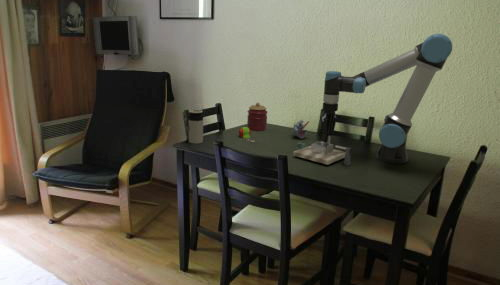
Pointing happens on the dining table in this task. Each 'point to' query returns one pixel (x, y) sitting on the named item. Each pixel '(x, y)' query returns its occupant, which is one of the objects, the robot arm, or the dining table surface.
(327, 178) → the dining table surface
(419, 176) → the dining table surface
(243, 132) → the toy measuring tape
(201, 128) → the travel mug
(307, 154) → the patterned tray
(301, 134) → the toy figurine
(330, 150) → the cover
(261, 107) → the canister
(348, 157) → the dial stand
